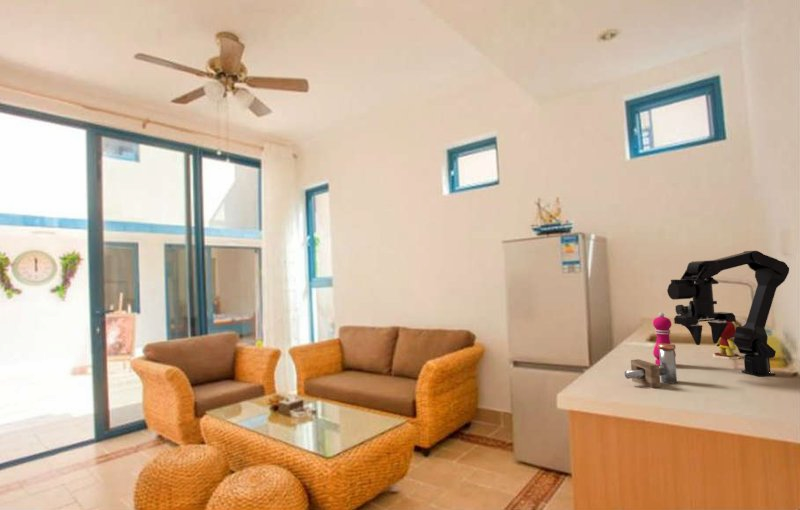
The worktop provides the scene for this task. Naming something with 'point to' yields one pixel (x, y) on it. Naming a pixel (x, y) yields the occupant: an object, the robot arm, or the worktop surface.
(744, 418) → the worktop surface
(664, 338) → the pepper mill
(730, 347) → the figurine
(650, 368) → the tan wooden block
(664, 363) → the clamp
